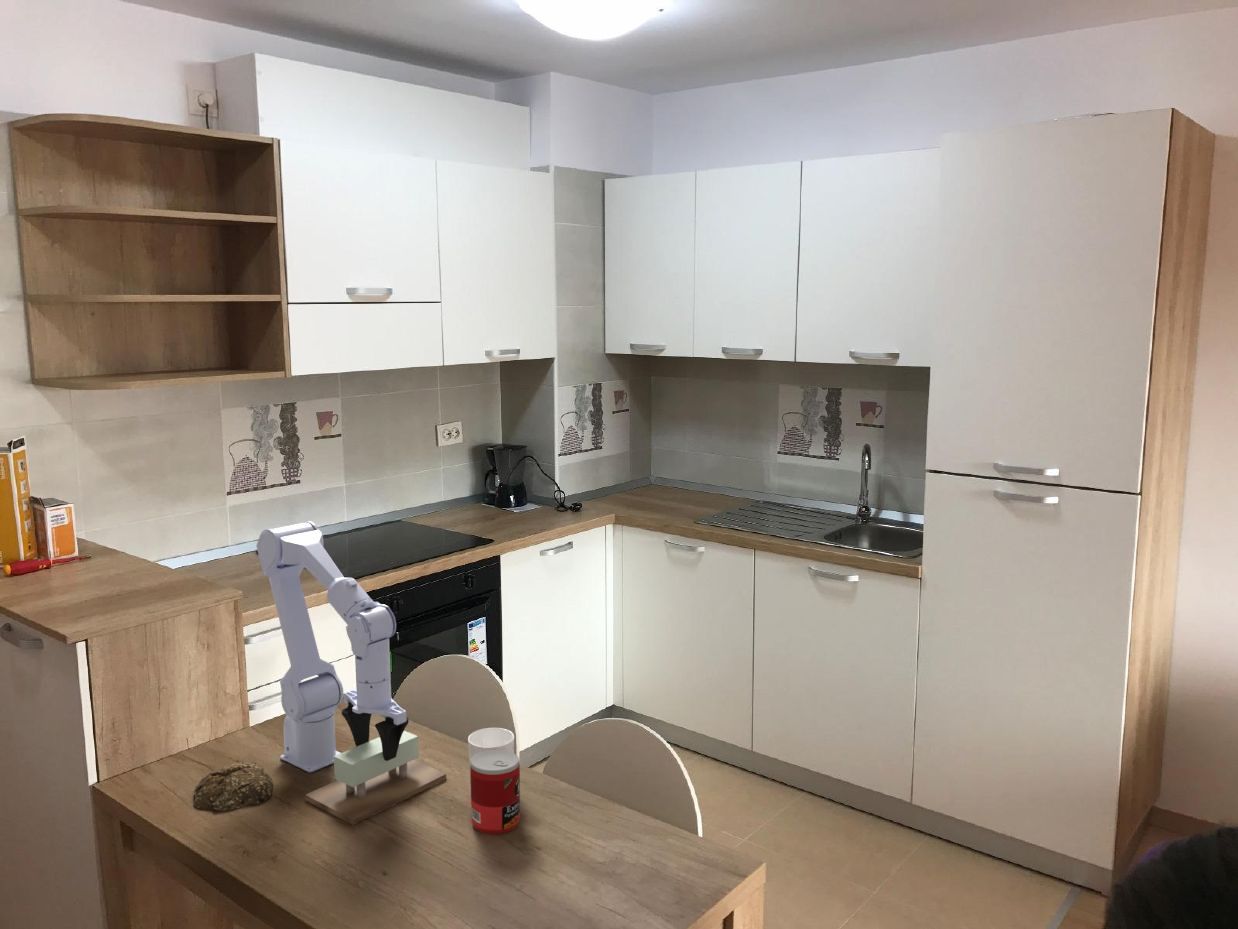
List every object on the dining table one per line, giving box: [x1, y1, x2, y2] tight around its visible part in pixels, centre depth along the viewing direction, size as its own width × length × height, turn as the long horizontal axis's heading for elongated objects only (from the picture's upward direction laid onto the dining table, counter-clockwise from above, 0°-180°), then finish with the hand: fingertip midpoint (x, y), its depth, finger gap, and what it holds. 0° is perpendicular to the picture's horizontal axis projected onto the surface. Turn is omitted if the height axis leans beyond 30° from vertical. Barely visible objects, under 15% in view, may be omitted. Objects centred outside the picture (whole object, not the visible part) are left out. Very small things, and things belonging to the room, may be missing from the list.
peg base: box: [304, 759, 447, 826], centre depth 171 cm, size 13×20×4 cm, turn 142°
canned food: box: [469, 750, 521, 835], centre depth 160 cm, size 8×8×11 cm
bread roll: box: [193, 761, 274, 812], centre depth 170 cm, size 13×12×5 cm
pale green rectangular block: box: [333, 730, 420, 787], centre depth 170 cm, size 14×5×4 cm, turn 142°
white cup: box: [467, 727, 515, 764], centre depth 170 cm, size 8×8×10 cm
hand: (376, 752), depth 170 cm, fingers open, 7 cm apart
